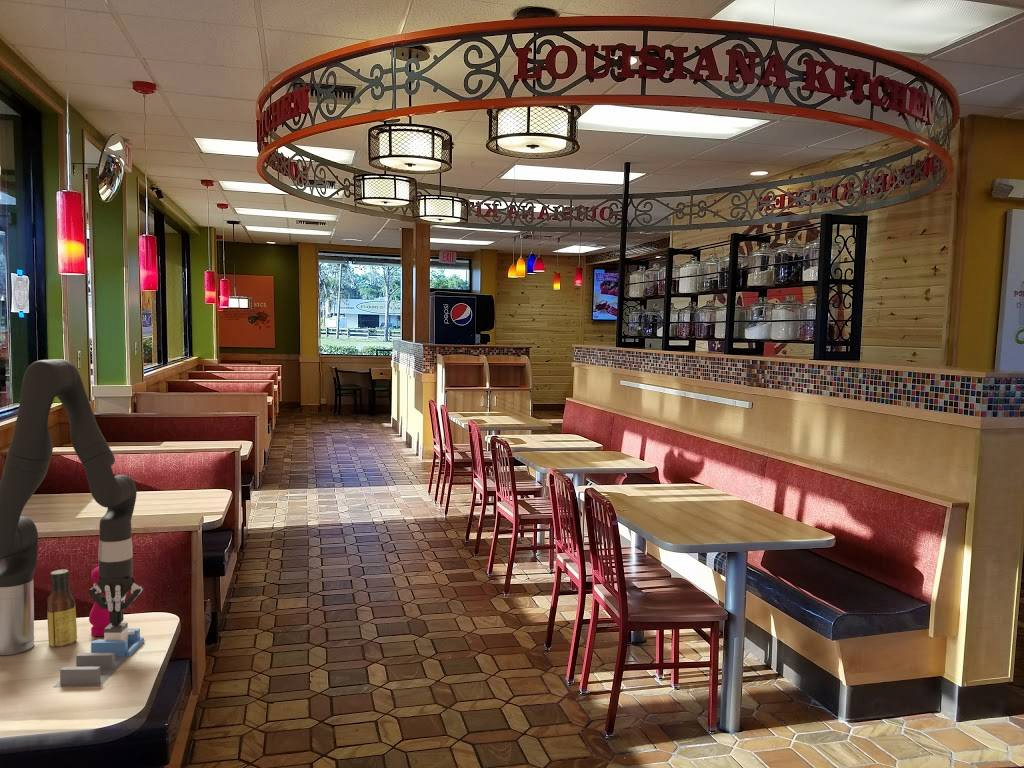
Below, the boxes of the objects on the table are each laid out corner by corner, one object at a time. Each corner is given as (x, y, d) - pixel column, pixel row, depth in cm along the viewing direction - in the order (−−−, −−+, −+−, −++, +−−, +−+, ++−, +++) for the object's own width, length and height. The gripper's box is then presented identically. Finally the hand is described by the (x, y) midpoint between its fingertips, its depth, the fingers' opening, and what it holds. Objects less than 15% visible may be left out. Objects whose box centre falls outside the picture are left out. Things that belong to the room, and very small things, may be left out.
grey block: (104, 652, 188) (104, 628, 188) (111, 645, 192) (111, 622, 192) (121, 652, 189) (121, 628, 188) (127, 645, 193) (127, 622, 192)
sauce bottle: (82, 644, 197) (82, 568, 195) (66, 654, 190) (65, 576, 189) (58, 642, 197) (58, 567, 196) (41, 652, 191) (40, 574, 190)
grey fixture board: (53, 693, 170) (53, 671, 169) (105, 646, 196) (104, 627, 195) (100, 692, 171) (100, 671, 170) (145, 645, 197) (145, 626, 196)
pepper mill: (85, 639, 200) (85, 564, 199) (92, 628, 207) (92, 556, 205) (116, 636, 202) (116, 562, 201) (122, 626, 209) (121, 554, 207)
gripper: (149, 552, 193) (149, 618, 194) (94, 552, 192) (95, 619, 193) (137, 560, 186) (137, 630, 187) (80, 560, 185) (81, 630, 186)
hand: (116, 624), depth 190 cm, fingers closed
